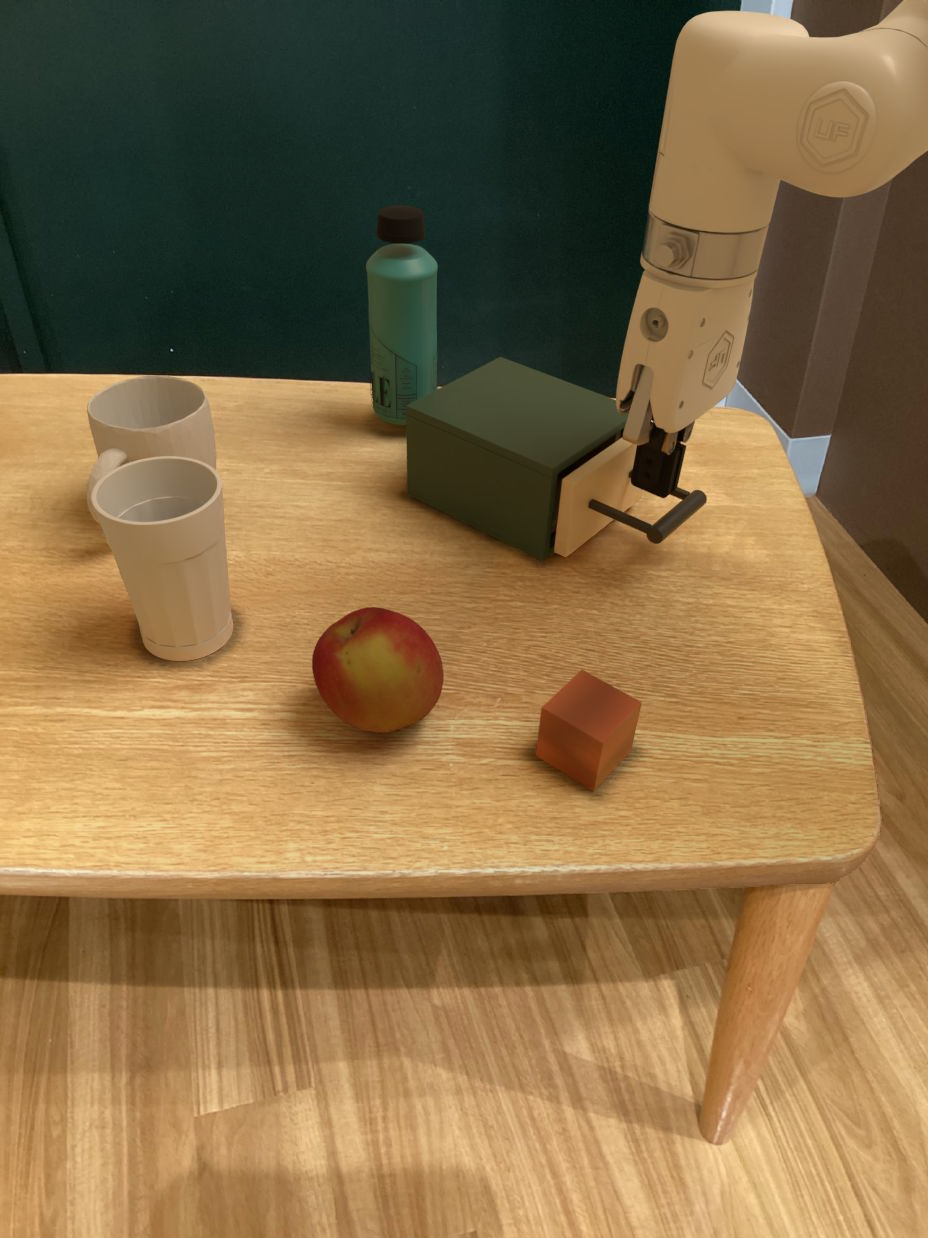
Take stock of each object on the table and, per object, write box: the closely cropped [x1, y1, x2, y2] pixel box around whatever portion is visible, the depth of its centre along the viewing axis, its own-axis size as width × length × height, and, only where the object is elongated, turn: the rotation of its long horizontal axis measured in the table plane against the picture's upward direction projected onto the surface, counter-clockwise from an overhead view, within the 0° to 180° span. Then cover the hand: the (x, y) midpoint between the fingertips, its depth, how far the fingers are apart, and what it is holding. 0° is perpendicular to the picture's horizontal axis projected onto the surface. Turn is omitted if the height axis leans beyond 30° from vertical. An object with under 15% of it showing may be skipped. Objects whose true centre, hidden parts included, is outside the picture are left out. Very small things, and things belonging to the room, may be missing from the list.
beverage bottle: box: [365, 204, 440, 426], centre depth 84 cm, size 6×7×20 cm
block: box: [535, 669, 643, 792], centre depth 57 cm, size 4×4×4 cm
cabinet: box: [405, 356, 629, 562], centre depth 78 cm, size 15×13×9 cm
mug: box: [85, 375, 217, 525], centre depth 73 cm, size 13×9×10 cm
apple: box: [311, 606, 445, 733], centre depth 58 cm, size 8×8×8 cm
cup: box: [91, 456, 234, 662], centre depth 62 cm, size 8×8×12 cm
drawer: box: [551, 431, 708, 558], centre depth 75 cm, size 20×11×7 cm, turn 51°
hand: (653, 487), depth 71 cm, fingers closed
